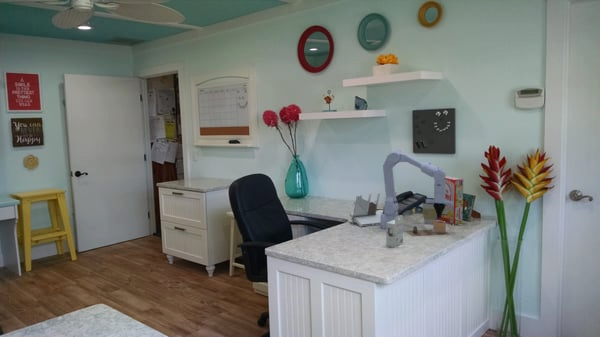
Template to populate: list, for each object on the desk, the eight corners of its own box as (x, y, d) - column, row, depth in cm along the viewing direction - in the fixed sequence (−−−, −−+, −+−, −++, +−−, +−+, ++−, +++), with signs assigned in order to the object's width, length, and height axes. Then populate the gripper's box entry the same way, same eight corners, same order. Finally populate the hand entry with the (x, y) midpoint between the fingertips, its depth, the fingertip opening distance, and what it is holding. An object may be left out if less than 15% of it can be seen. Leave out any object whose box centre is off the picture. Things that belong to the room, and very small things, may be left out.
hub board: (412, 238, 231) (412, 228, 230) (403, 233, 243) (403, 223, 242) (450, 236, 234) (450, 226, 233) (440, 231, 246) (440, 221, 245)
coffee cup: (423, 222, 269) (424, 197, 267) (440, 223, 264) (441, 198, 262) (419, 225, 260) (419, 199, 259) (436, 227, 255) (436, 201, 254)
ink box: (394, 242, 224) (394, 213, 222) (403, 244, 221) (403, 214, 219) (385, 246, 217) (385, 216, 216) (394, 247, 214) (395, 217, 213)
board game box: (433, 218, 279) (434, 175, 276) (442, 217, 280) (443, 174, 278) (453, 225, 259) (454, 179, 256) (463, 224, 261) (464, 178, 258)
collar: (445, 231, 236) (445, 223, 235) (434, 231, 237) (434, 223, 236) (444, 229, 241) (444, 221, 241) (433, 229, 242) (433, 221, 242)
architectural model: (343, 215, 276) (348, 184, 268) (383, 211, 287) (389, 181, 278) (358, 232, 259) (364, 200, 251) (400, 227, 270) (407, 196, 261)
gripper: (456, 192, 236) (455, 217, 238) (429, 190, 245) (429, 214, 246) (451, 194, 231) (450, 220, 232) (424, 192, 240) (424, 217, 241)
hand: (439, 217), depth 239 cm, fingers closed
